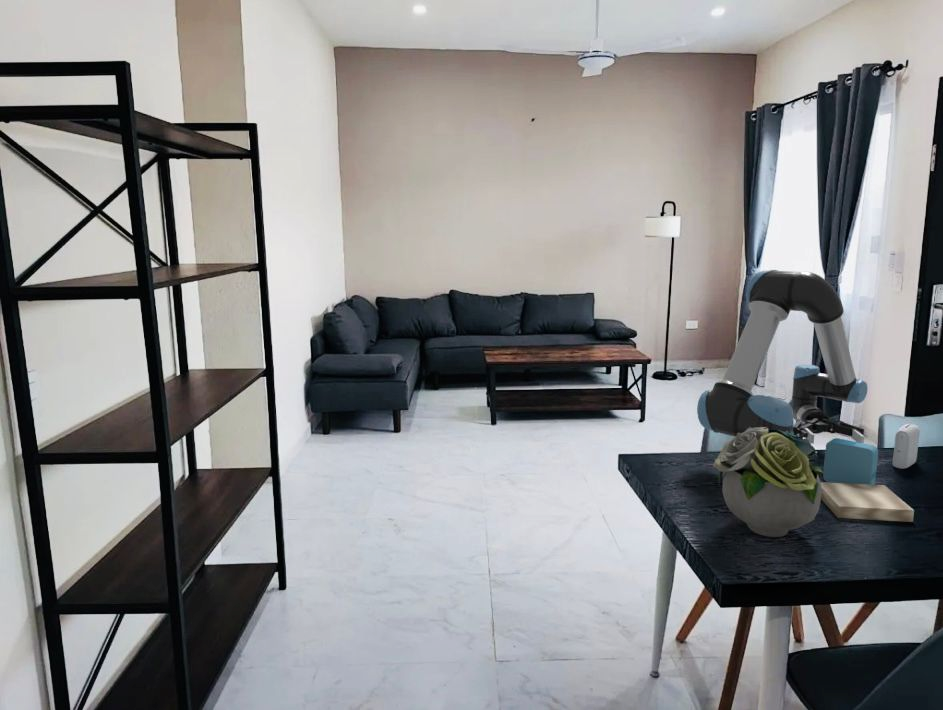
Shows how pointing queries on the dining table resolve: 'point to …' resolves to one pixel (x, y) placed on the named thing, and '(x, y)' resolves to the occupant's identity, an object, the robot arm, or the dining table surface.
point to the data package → (850, 462)
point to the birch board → (865, 502)
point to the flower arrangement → (770, 480)
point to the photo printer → (906, 446)
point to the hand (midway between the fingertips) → (837, 439)
